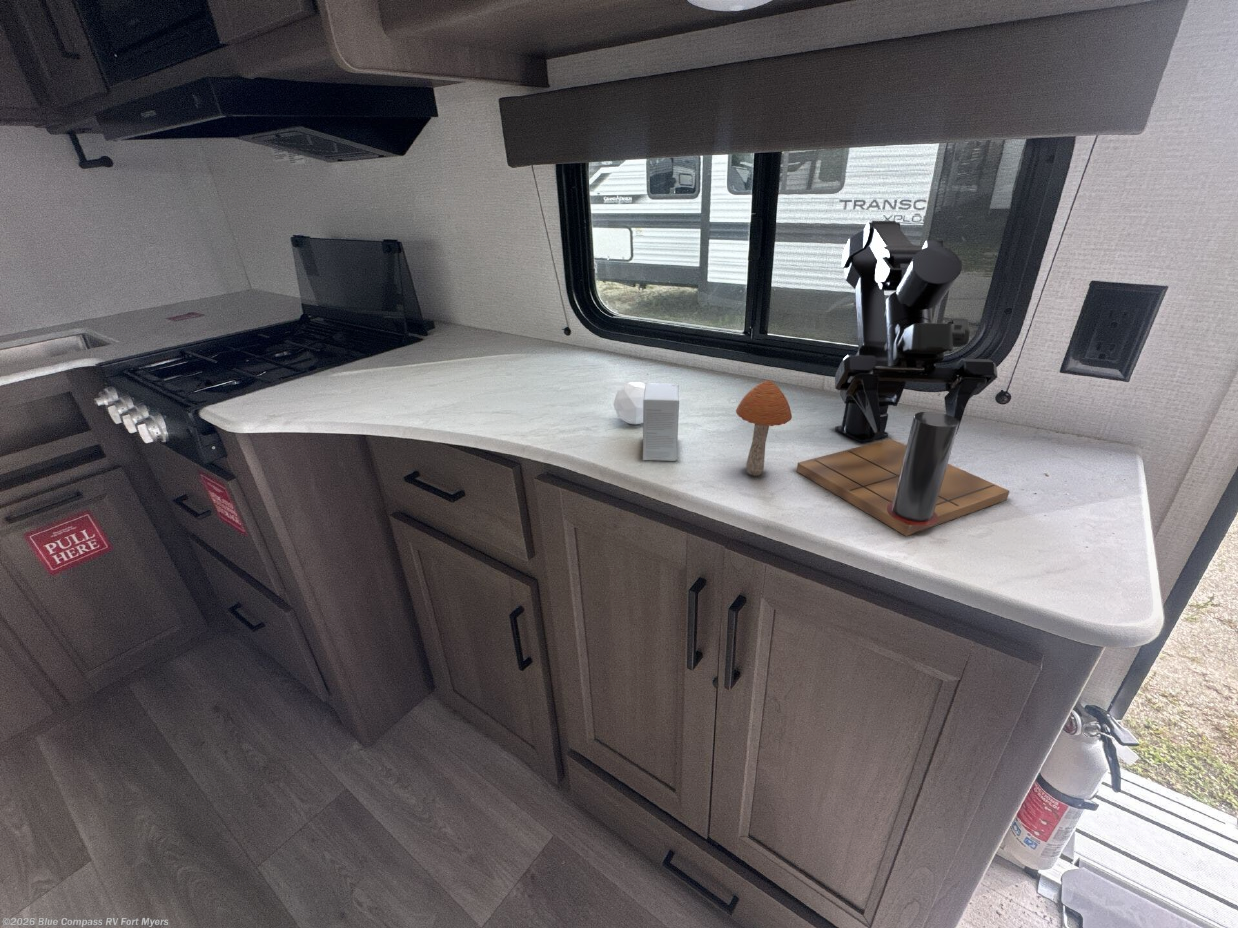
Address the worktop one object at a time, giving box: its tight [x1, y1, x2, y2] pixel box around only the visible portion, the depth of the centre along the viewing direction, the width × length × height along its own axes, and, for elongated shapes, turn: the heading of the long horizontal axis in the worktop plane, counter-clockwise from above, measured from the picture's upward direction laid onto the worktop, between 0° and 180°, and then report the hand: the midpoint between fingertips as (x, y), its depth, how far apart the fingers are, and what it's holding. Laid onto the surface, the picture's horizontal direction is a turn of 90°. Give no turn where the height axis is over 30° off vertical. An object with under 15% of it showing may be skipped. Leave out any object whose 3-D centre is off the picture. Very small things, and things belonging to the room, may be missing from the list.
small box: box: [642, 382, 680, 462], centre depth 92 cm, size 8×6×10 cm
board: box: [796, 438, 1011, 537], centre depth 82 cm, size 21×20×2 cm
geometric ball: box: [613, 382, 646, 425], centre depth 104 cm, size 8×8×8 cm
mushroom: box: [735, 379, 793, 477], centre depth 83 cm, size 8×8×15 cm
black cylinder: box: [892, 411, 960, 522], centre depth 70 cm, size 5×5×13 cm
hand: (915, 434), depth 73 cm, fingers open, 9 cm apart
